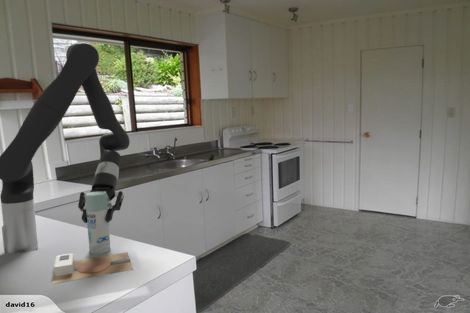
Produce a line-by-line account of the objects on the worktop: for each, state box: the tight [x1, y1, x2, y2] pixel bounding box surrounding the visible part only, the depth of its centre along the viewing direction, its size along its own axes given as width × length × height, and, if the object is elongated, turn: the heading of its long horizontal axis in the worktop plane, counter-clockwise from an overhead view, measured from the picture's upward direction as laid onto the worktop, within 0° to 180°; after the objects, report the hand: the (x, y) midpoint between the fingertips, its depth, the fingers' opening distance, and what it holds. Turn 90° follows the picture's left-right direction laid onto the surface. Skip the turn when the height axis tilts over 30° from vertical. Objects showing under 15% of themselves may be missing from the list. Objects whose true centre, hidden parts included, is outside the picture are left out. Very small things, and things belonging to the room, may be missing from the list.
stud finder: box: [53, 252, 75, 277], centre depth 100 cm, size 9×4×3 cm, turn 23°
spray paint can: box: [85, 191, 111, 255], centre depth 113 cm, size 6×6×20 cm
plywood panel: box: [52, 251, 134, 285], centre depth 102 cm, size 20×14×2 cm
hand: (96, 221), depth 111 cm, fingers closed on spray paint can, 6 cm apart
